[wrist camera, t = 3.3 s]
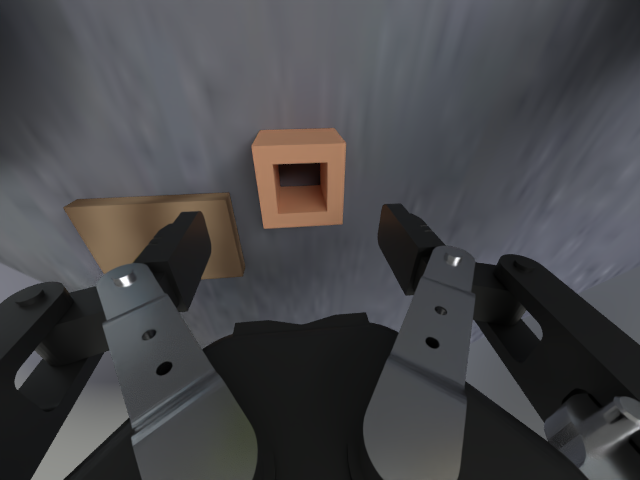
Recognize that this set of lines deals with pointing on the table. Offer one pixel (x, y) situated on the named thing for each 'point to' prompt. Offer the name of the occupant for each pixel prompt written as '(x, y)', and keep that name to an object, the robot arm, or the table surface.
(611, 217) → the table surface
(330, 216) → the orange hollow square block
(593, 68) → the table surface
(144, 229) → the shaft block
